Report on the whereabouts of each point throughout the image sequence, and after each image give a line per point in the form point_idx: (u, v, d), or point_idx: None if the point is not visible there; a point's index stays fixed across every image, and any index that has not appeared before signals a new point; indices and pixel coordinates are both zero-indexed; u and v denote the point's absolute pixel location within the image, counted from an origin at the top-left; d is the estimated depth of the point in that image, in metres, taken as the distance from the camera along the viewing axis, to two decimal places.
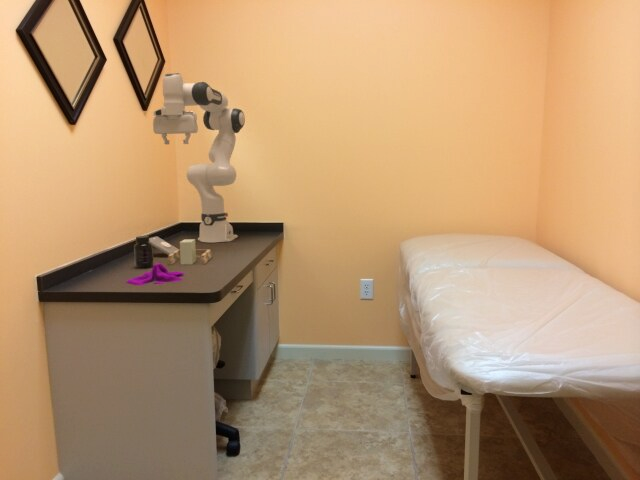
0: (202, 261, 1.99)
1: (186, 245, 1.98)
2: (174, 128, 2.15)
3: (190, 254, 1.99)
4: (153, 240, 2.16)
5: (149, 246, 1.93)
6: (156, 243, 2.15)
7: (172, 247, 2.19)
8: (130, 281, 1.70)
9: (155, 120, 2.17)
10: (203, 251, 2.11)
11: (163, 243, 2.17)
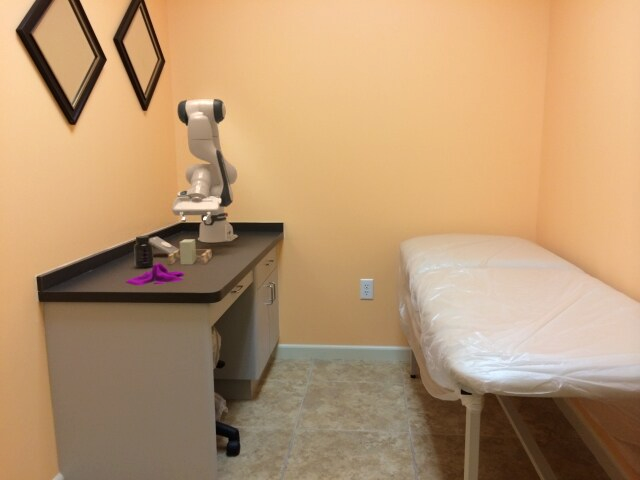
0: (202, 261, 1.99)
1: (186, 245, 1.98)
2: (196, 206, 2.15)
3: (190, 254, 1.99)
4: (153, 240, 2.16)
5: (149, 246, 1.93)
6: (157, 243, 2.15)
7: (172, 247, 2.19)
8: (130, 281, 1.70)
9: (177, 199, 2.16)
10: (203, 251, 2.11)
11: (164, 243, 2.16)
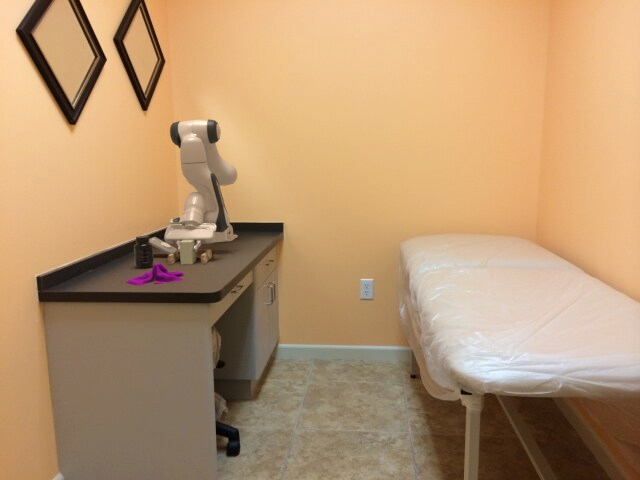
0: (202, 261, 1.99)
1: (186, 244, 1.98)
2: (190, 234, 2.04)
3: (190, 254, 1.99)
4: (153, 241, 2.14)
5: (149, 246, 1.93)
6: (157, 244, 2.13)
7: (172, 247, 2.18)
8: (130, 281, 1.70)
9: (170, 227, 2.05)
10: (203, 251, 2.11)
11: (163, 244, 2.15)
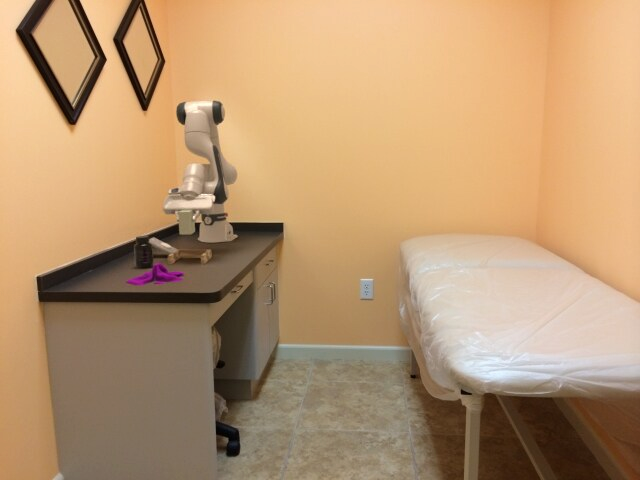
0: (202, 261, 1.99)
1: (184, 214, 1.96)
2: (189, 205, 2.02)
3: (189, 224, 1.97)
4: (153, 241, 2.14)
5: (149, 246, 1.93)
6: (157, 244, 2.13)
7: (172, 248, 2.18)
8: (130, 281, 1.70)
9: (168, 197, 2.03)
10: (203, 251, 2.11)
11: (163, 244, 2.15)
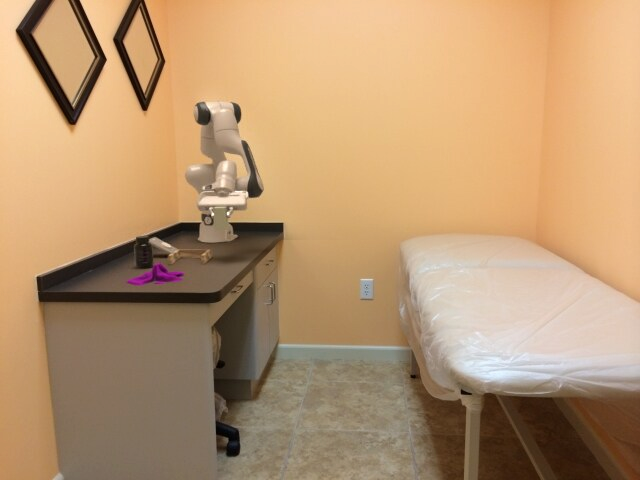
0: (202, 261, 1.99)
1: (219, 210, 1.97)
2: (223, 201, 2.03)
3: (223, 220, 1.98)
4: (153, 241, 2.14)
5: (149, 246, 1.93)
6: (157, 244, 2.13)
7: (172, 247, 2.18)
8: (130, 281, 1.70)
9: (202, 194, 2.04)
10: (203, 251, 2.11)
11: (164, 244, 2.15)
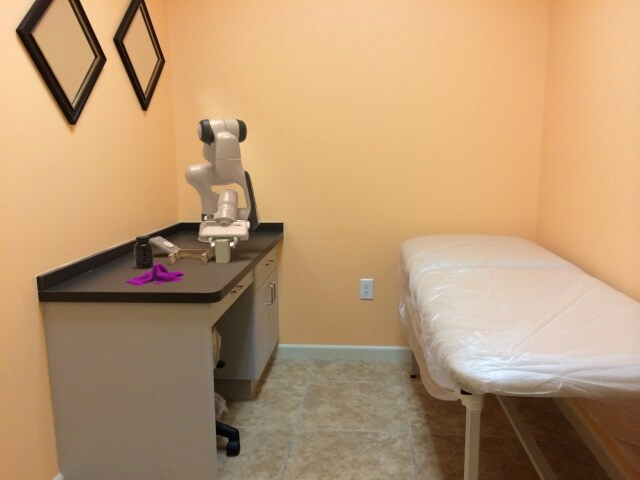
0: (202, 261, 1.99)
1: (221, 244, 1.99)
2: (224, 231, 2.05)
3: (225, 253, 2.00)
4: (156, 240, 2.16)
5: (149, 246, 1.93)
6: (159, 243, 2.15)
7: (175, 247, 2.19)
8: (130, 281, 1.70)
9: (204, 224, 2.07)
10: (203, 251, 2.11)
11: (166, 243, 2.17)
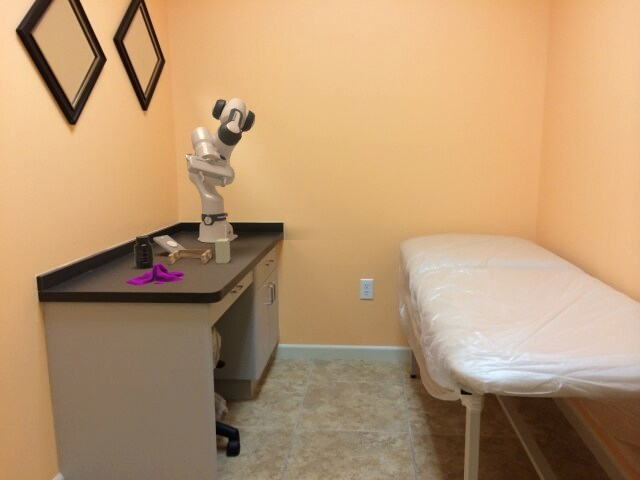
0: (202, 261, 1.99)
1: (221, 244, 1.99)
2: None
3: (225, 253, 2.00)
4: (160, 239, 2.19)
5: (149, 246, 1.93)
6: (162, 242, 2.17)
7: (179, 247, 2.20)
8: (130, 281, 1.70)
9: None
10: (203, 251, 2.11)
11: (169, 242, 2.19)
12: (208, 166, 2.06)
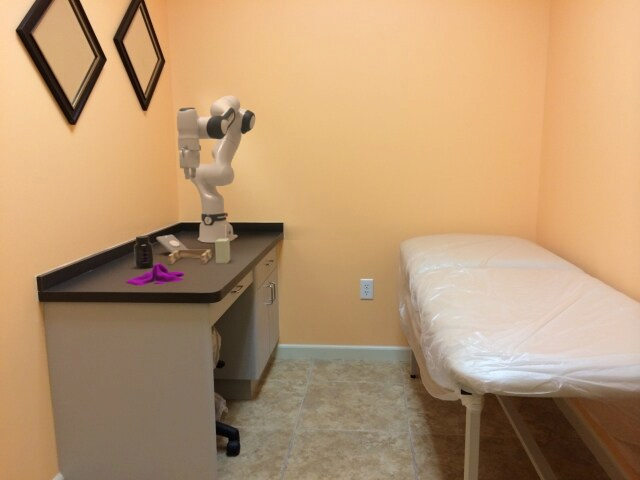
0: (202, 261, 1.99)
1: (221, 244, 1.99)
2: None
3: (225, 253, 2.00)
4: (164, 238, 2.21)
5: (149, 246, 1.93)
6: (165, 241, 2.19)
7: (181, 246, 2.21)
8: (130, 281, 1.70)
9: None
10: (203, 251, 2.11)
11: (172, 242, 2.20)
12: (192, 161, 2.12)
